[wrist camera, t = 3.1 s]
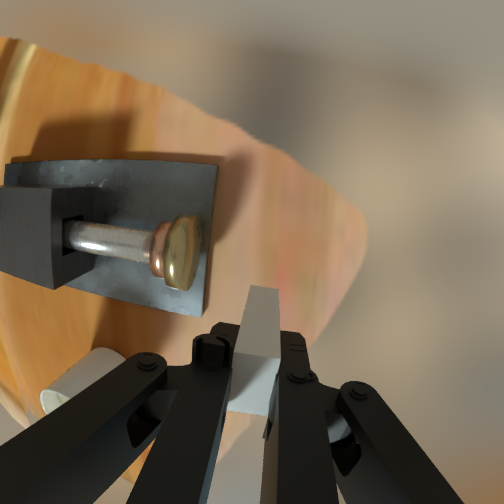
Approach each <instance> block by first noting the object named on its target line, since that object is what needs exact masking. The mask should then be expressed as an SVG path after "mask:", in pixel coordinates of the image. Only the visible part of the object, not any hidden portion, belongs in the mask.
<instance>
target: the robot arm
mask: <svg viewBox="0 0 504 504" xmlns="http://www.w3.org/2000/svg"><path fill="white" fill-rule="evenodd" d="M226 410H229V411H235V412H242V413H248V414H256V415H264V416H267V414H268V419H267V423H266V427H265V431H264V434H263V438H265V445H264V459H263V472H262V486H261V497H260V504H339V500H338V492H337V485H338V487H339V489H340V492H341V494H342V495H343V498H344V500H345V502H346V504H464V503H463V502H462V500H461V499H460V498H459V496H458V495H457V494H456V492H455V491H454V490H453V488H452V487H451V486H450V485H449V483H448V482H447V481H446V479H445V478H444V477H443V475H442V474H441V473H440V472H439V470H438V469H437V468H436V467H435V465H434V464H433V463H432V462H431V460H430V459H429V458H428V456H427V455H426V454H425V452H424V451H423V450H422V449H421V447H420V446H419V445H418V443H417V442H416V441H415V439H414V438H413V437H412V436H411V434H410V433H409V432H408V431H407V429H406V428H405V427H404V425H403V424H402V423H401V422H400V420H399V419H398V418H397V417H396V415H395V414H394V413H393V412H392V410H391V409H390V408H389V407H388V405H387V404H386V403H385V401H384V400H383V399H382V398H381V396H380V395H379V394H378V393H377V391H376V390H375V389H374V388H373V387H371V386H370V385H368V384H366V383H363V382H359V381H350V382H346V383H344V384H343V385H342V386H341V388H340V389H336V388H332V387H329V386H326V385H323V384H321V383H320V382H319V381H318V377H317V376H316V374H315V373H314V372H313V371H312V370H311V369H310V364H309V358H308V353H307V347H306V342H305V338H304V337H303V336H302V335H301V334H300V333H297V332H289V331H281V330H280V313H279V289H274V288H267V287H260V286H253V285H250V289H249V293H248V297H247V301H246V305H245V309H244V313H243V317H242V321H241V325H235V324H229V323H223V322H219V323H217V324H216V325H214V326H213V327H212V329H211V331H210V333H209V334H201V335H199V336H196V337H195V338H194V339H193V345H192V362H191V364H189V365H184V366H167V362H166V360H165V359H164V358H163V357H162V356H160V355H158V354H155V353H149V352H143V353H137V354H135V355H133V356H131V357H130V358H128V359H127V360H125V361H124V362H123V363H121V364H120V365H118V366H117V367H115V368H114V369H113V370H111V371H110V372H108V373H107V374H105V375H104V376H103V377H101V378H100V379H98V380H97V381H95V382H94V383H93V384H91V385H90V386H88V387H87V388H85V389H84V390H82V391H81V392H80V393H78V394H77V395H75V396H74V397H72V398H71V399H69V400H68V401H67V402H65V403H64V404H62V405H61V406H59V407H58V408H56V409H55V410H53V411H52V412H50V413H49V414H48V415H46V416H45V417H43V418H42V419H40V420H39V421H37V422H36V423H35V424H33V425H31V426H30V427H28V428H27V429H25V430H24V431H22V432H21V433H19V434H18V435H16V436H15V437H13V438H12V439H10V440H9V441H7V442H6V443H4V444H3V445H1V446H0V504H93V503H94V502H95V501H96V500H97V499H98V498H99V497H100V496H101V495H102V494H103V493H104V492H105V491H106V490H107V489H108V488H109V487H110V486H111V485H112V484H113V483H114V482H115V481H116V480H117V479H118V478H119V477H120V476H121V474H122V473H123V472H124V471H125V470H126V469H127V468H128V467H129V466H130V465H131V464H132V463H133V462H134V461H135V460H136V459H137V458H138V456H139V455H140V454H141V453H142V452H143V451H144V450H145V449H146V448H147V447H148V446H149V445H150V443H151V442H152V441H153V440H154V439H155V438H156V439H155V441H154V443H153V445H152V447H151V450H150V452H149V454H148V456H147V458H146V460H145V463H144V465H143V467H142V469H141V471H140V474H139V476H138V478H137V480H136V482H135V485H134V487H133V489H132V491H131V493H130V496H129V498H128V500H127V502H126V504H206V503H207V499H208V494H209V489H210V486H211V481H212V477H213V472H214V468H215V463H216V459H217V455H218V450H219V446H220V441H221V437H222V432H223V428H224V423H225V417H226ZM268 410H269V411H268ZM336 483H337V485H336Z"/></svg>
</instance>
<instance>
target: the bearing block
mask: <svg viewBox="0 0 504 504" xmlns="http://www.w3.org/2000/svg"><path fill="white" fill-rule="evenodd" d="M218 168H219V166H218V165H209V164H198V163H185V162H170V161H151V160H117V159H85V160H53V161H35V162H22V163H11V164H5V174H4V185H0V271H2V272H5V273H7V274H10V275H12V276H15V277H18V278H21V279H23V280H26V281H29V282H32V283H35V284H37V285H40V286H43V287H46V288H49V289H52V290H55V289H57V288H59V287H61V286H63V285H65V286H68V287H72V288H75V289H79V290H82V291H86V292H90V293H93V294H97V295H101V296H105V297H109V298H113V299H117V300H121V301H125V302H129V303H133V304H138V305H142V306H147V307H151V308H156V309H160V310H165V311H170V312H175V313H180V314H185V315H190V316H195V317H202V315H203V312H204V299H205V287H206V275H207V265H208V254H209V244H210V234H211V225H212V216H213V208H214V199H215V191H216V183H217V175H218ZM178 214H188V215H196V216H199V218H200V220H201V225H202V245H201V254H200V260H199V265H198V269H197V273H196V276H195V279H194V282H193V284H192V286H191V288H190V289H189V290H188V291H183V290H178V289H173V288H169V287H167V285H166V283H165V280H164V279H162V278H157V277H154V276H153V275H152V273H151V270H150V264H149V263H143V262H137V261H132V260H126V259H121V258H115V257H110V256H105V255H99V254H94V253H89V252H84V251H79V250H74V249H69V248H64V247H62V219H69V220H77V221H84V222H92V223H100V224H107V225H115V226H122V227H130V228H137V229H145V230H152V231H154V230H155V228H156V226H157V225H158V223H159V222H160V221H161V220H171V221H173V219H174V218H175V217H176V216H177V215H178Z"/></svg>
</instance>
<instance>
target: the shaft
mask: <svg viewBox="0 0 504 504" xmlns="http://www.w3.org/2000/svg"><path fill="white" fill-rule="evenodd" d="M201 245H202V225H201V220H200V218H199V216H196V215H188V214H178V215H177V216H176V217H175V218H174V219H173V221H171V220H161V221H160V222H159V223H158V225H157V226H156V228H155V230H154V231H152V230H145V229H137V228H130V227H122V226H115V225H107V224H100V223H92V222H84V221H77V220H69V219H62V247H64V248H69V249H74V250H79V251H84V252H89V253H94V254H99V255H105V256H110V257H115V258H121V259H126V260H132V261H137V262H143V263H149V264H150V270H151V273H152V275H153V276H154V277H157V278H162V279H164V280H165V283H166V285H167V287H169V288H173V289H178V290H183V291H188V290H189V289H190V288H191V286H192V284H193V282H194V279H195V276H196V273H197V269H198V265H199V260H200V254H201Z"/></svg>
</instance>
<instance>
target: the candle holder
mask: <svg viewBox="0 0 504 504" xmlns="http://www.w3.org/2000/svg"><path fill="white" fill-rule="evenodd" d="M125 360H126V359H125V358H124V357H123V356H122V355H120V354H119V353H117V352H116V351H114V350H112V349H109V348H105V347H98V348H95V349H93V350H91V351H90V352H89V353H87V354H86V355H85V356H84V357H83V358H81V359H80V360H79V361H78V362H77V363H75V364H74V365H73V366H72V367H71V368H69V369H68V370H67V371H66V372H65V373H63V374H62V375H61V376H60V377H59V378H58V379H56V380H55V381H54V382H53V383H52V384H50V385H49V386H48V387H47V388H45V389H44V390H43V391H42V392H41V394H40V400H41V404H42V407H43V409H44V411H45V412H46V414H47V415H48V414H49V413H50V412H52V411H53V410H55V409H56V408H58V407H59V406H61V405H62V404H64V403H65V402H67V401H68V400H69V399H71V398H72V397H74V396H75V395H77V394H78V393H80V392H81V391H82V390H84V389H85V388H87V387H88V386H90V385H91V384H93V383H94V382H95V381H97V380H98V379H100V378H101V377H103V376H104V375H105V374H107V373H108V372H110V371H111V370H113V369H114V368H115V367H117V366H118V365H120V364H121V363H123V362H124V361H125Z"/></svg>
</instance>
